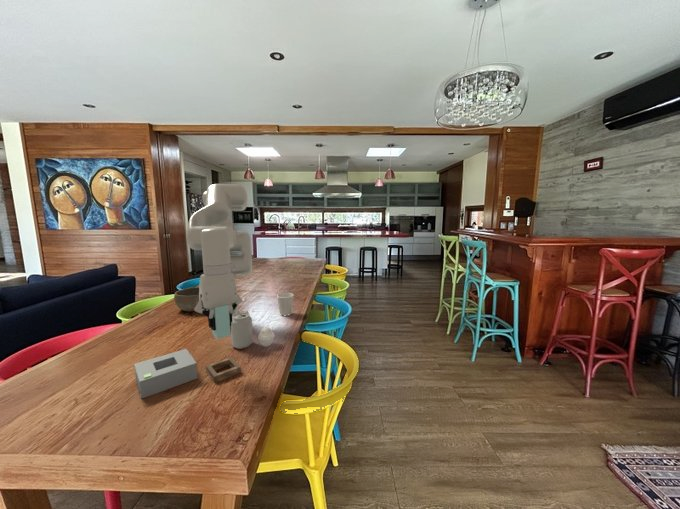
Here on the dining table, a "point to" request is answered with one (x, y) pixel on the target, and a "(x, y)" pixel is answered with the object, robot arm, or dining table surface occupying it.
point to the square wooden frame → (224, 374)
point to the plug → (221, 322)
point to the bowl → (187, 298)
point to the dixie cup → (285, 303)
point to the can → (241, 330)
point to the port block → (165, 372)
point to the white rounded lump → (266, 337)
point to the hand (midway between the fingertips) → (220, 326)
